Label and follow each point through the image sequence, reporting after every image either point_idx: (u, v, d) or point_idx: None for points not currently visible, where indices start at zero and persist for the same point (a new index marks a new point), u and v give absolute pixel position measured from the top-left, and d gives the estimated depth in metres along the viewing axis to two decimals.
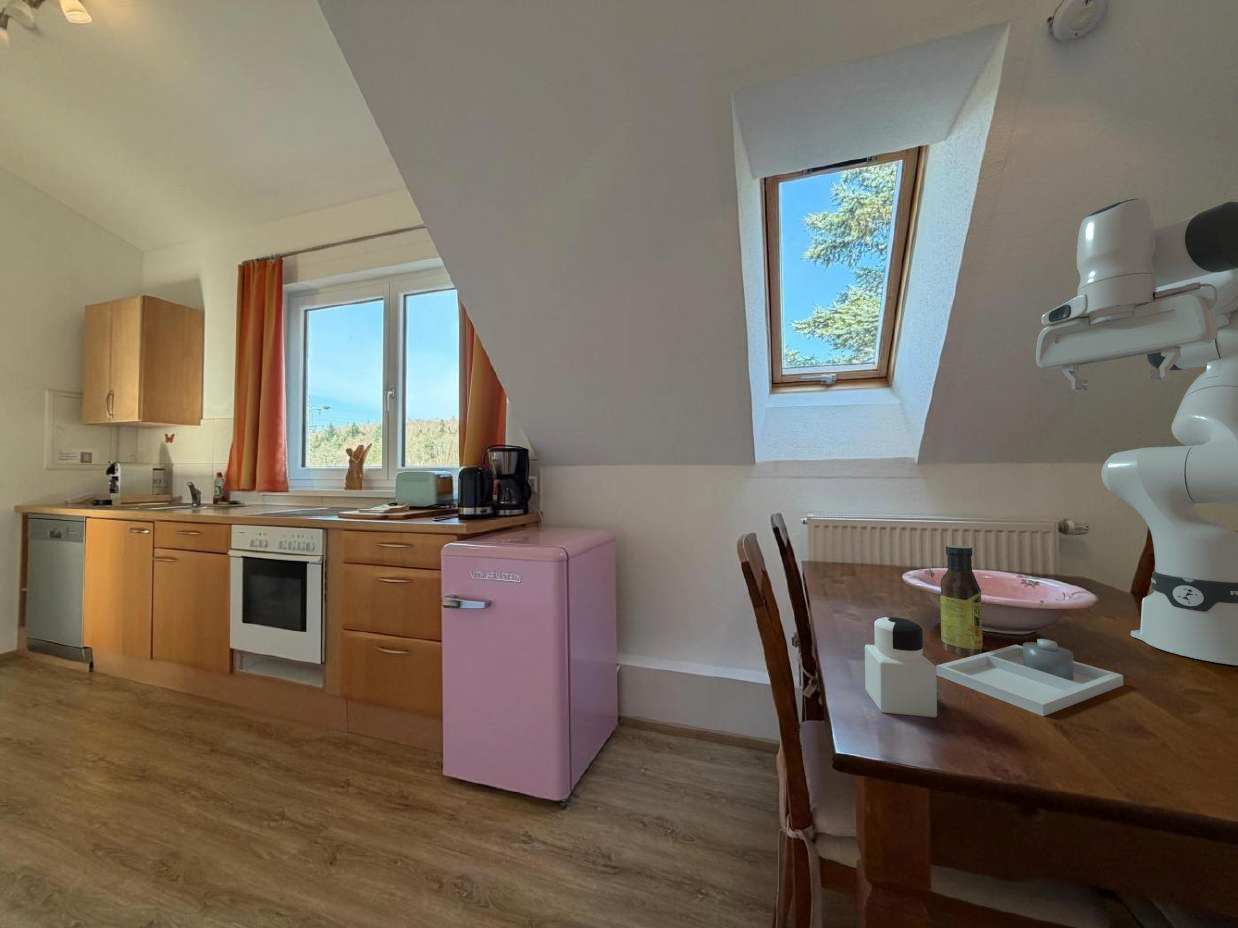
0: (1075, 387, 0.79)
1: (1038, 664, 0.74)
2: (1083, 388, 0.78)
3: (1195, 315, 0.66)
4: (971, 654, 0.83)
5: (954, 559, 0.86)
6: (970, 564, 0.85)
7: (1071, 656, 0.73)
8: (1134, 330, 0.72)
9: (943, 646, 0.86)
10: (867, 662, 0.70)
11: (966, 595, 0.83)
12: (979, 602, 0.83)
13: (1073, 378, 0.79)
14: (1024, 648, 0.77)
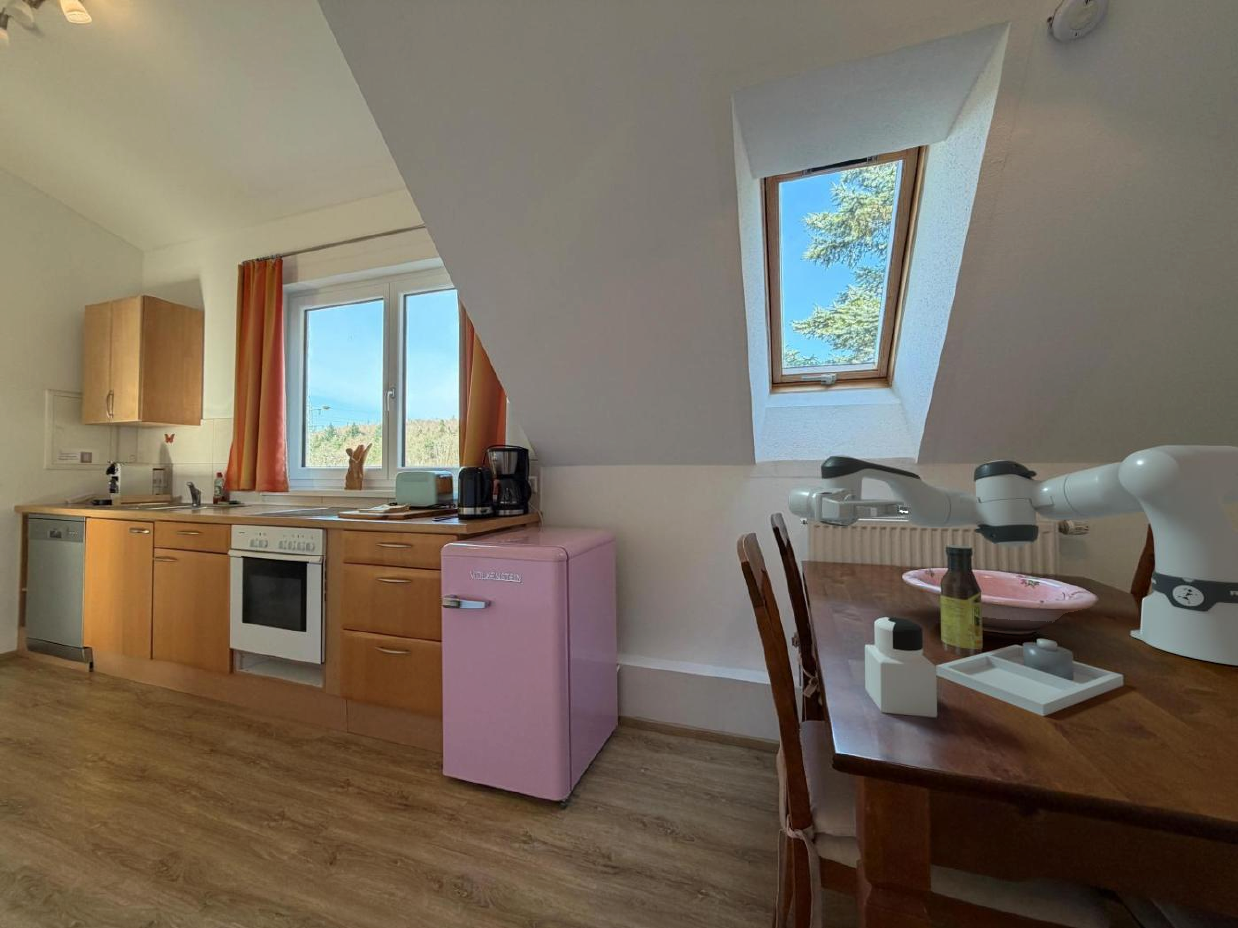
0: (876, 508, 0.98)
1: (1038, 664, 0.74)
2: (880, 509, 0.98)
3: None
4: (971, 654, 0.83)
5: (954, 559, 0.86)
6: (970, 564, 0.85)
7: (1071, 656, 0.73)
8: (870, 500, 1.08)
9: (943, 646, 0.86)
10: (867, 662, 0.70)
11: (966, 595, 0.83)
12: (979, 602, 0.83)
13: (868, 507, 0.99)
14: (1024, 648, 0.77)
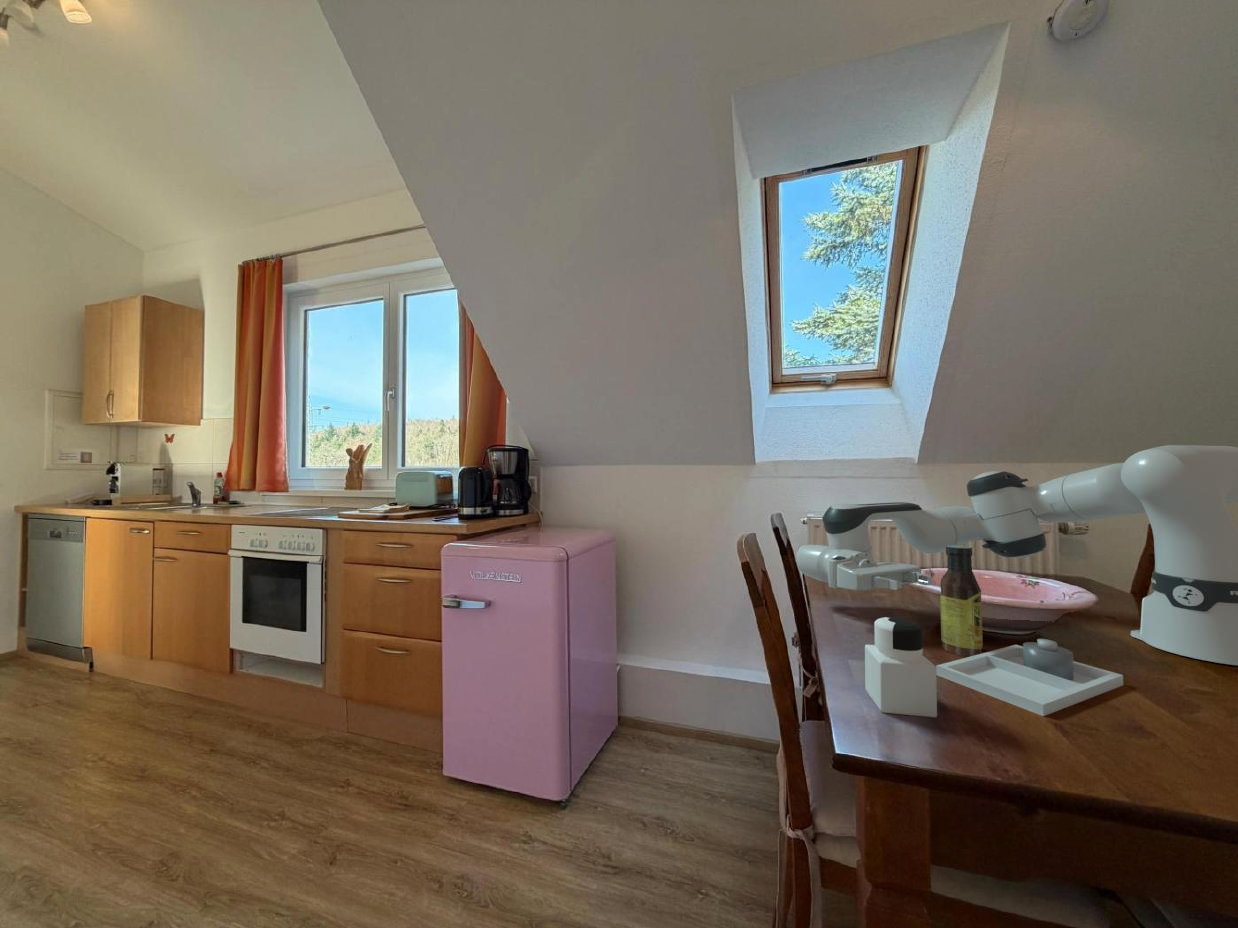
0: (896, 580, 0.92)
1: (1038, 664, 0.74)
2: (900, 582, 0.92)
3: (902, 563, 1.05)
4: (971, 654, 0.83)
5: (954, 559, 0.86)
6: (970, 564, 0.85)
7: (1071, 656, 0.73)
8: (885, 566, 1.02)
9: (943, 646, 0.86)
10: (867, 662, 0.70)
11: (966, 595, 0.83)
12: (979, 602, 0.83)
13: (887, 579, 0.93)
14: (1024, 648, 0.77)
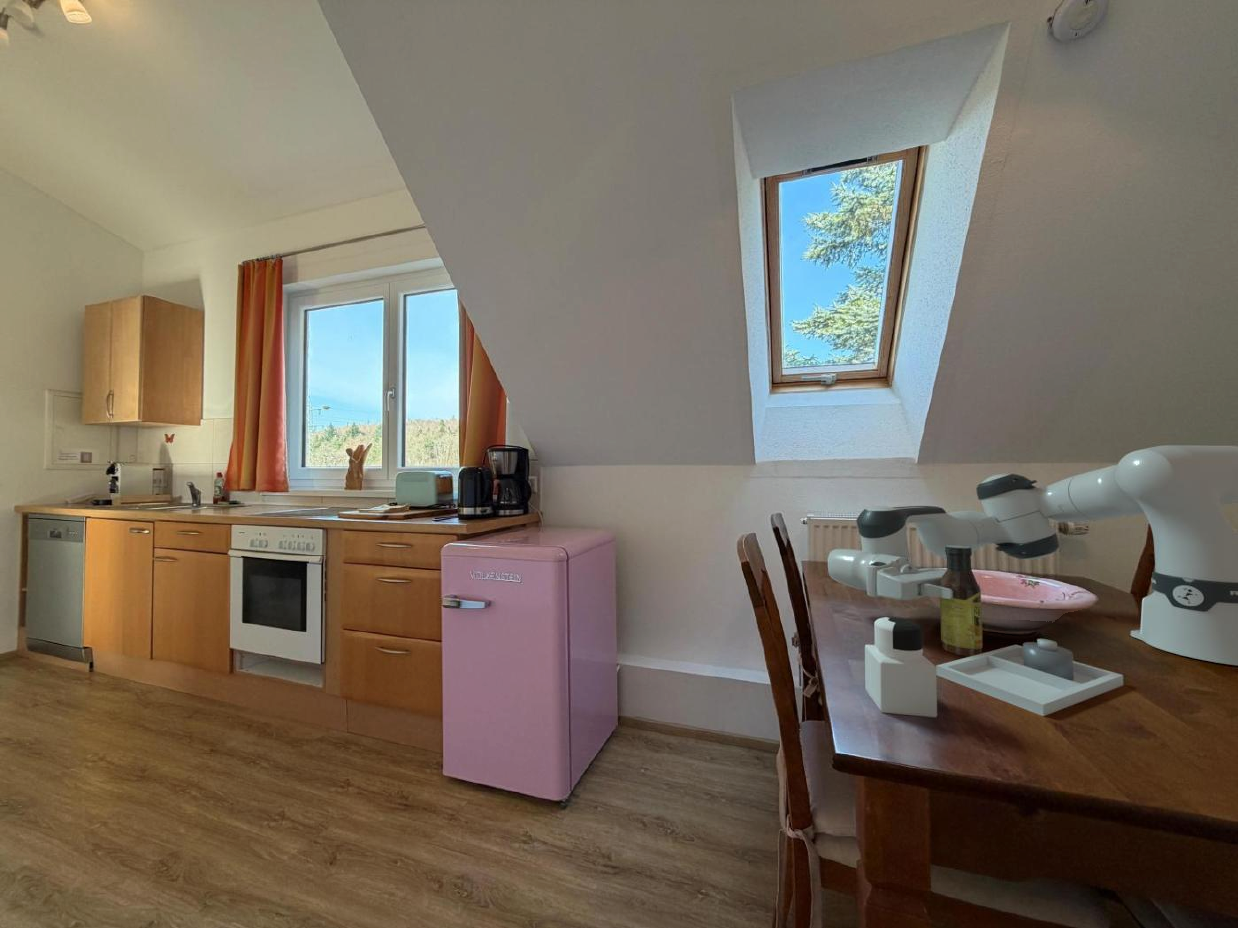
0: (949, 588, 0.84)
1: (1037, 664, 0.74)
2: (954, 590, 0.84)
3: (946, 569, 0.97)
4: (971, 654, 0.83)
5: (953, 559, 0.86)
6: (969, 564, 0.85)
7: (1071, 656, 0.73)
8: (929, 572, 0.94)
9: (943, 646, 0.86)
10: (867, 662, 0.70)
11: (966, 595, 0.83)
12: (978, 601, 0.83)
13: (939, 586, 0.86)
14: (1024, 648, 0.77)
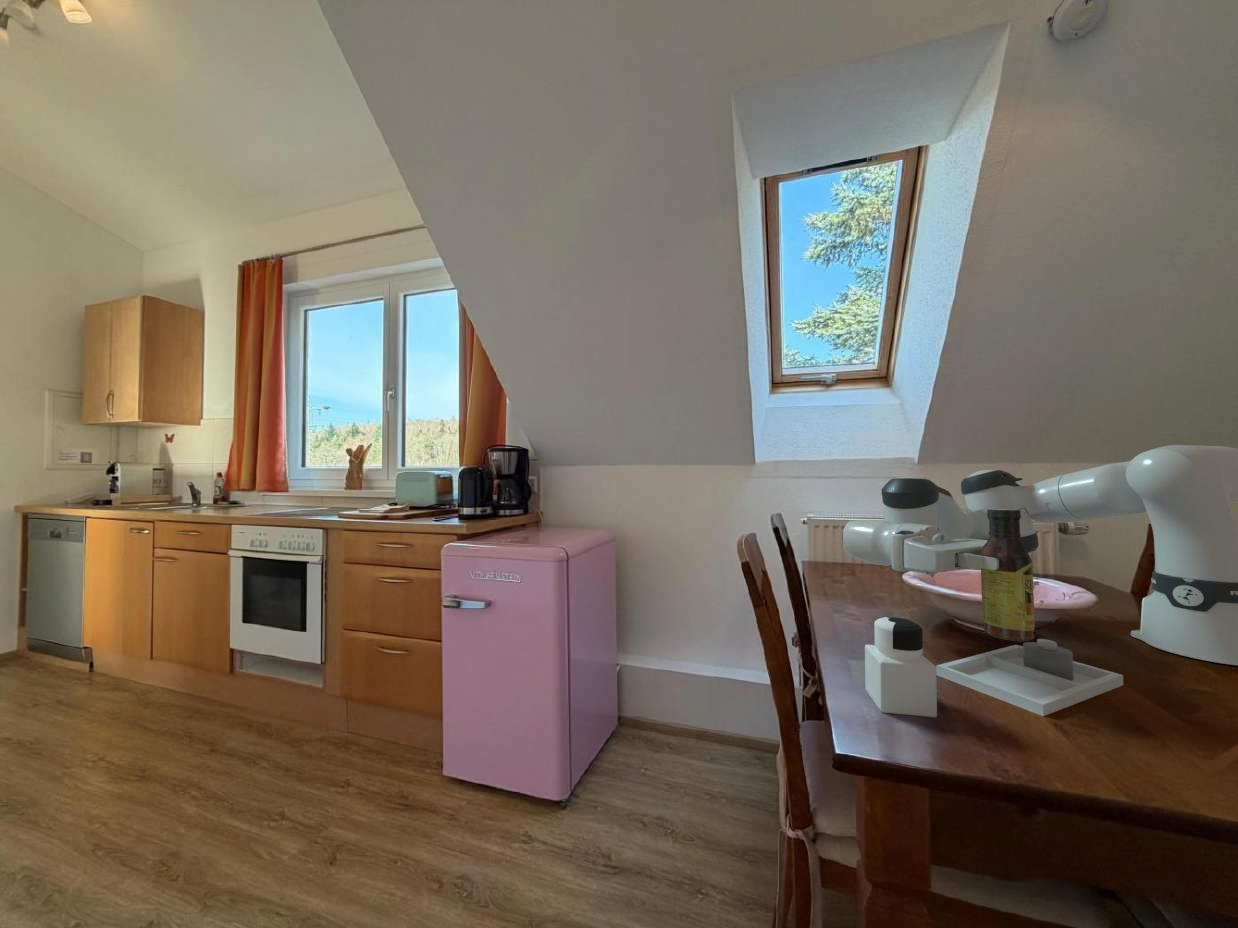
0: (995, 558, 0.70)
1: (1037, 664, 0.74)
2: (1000, 559, 0.70)
3: (984, 539, 0.82)
4: (1021, 637, 0.69)
5: (998, 524, 0.71)
6: (1018, 529, 0.70)
7: (1070, 656, 0.73)
8: (965, 542, 0.80)
9: (985, 628, 0.72)
10: (867, 662, 0.70)
11: (1015, 566, 0.69)
12: (1030, 574, 0.69)
13: (981, 556, 0.71)
14: (1024, 648, 0.77)
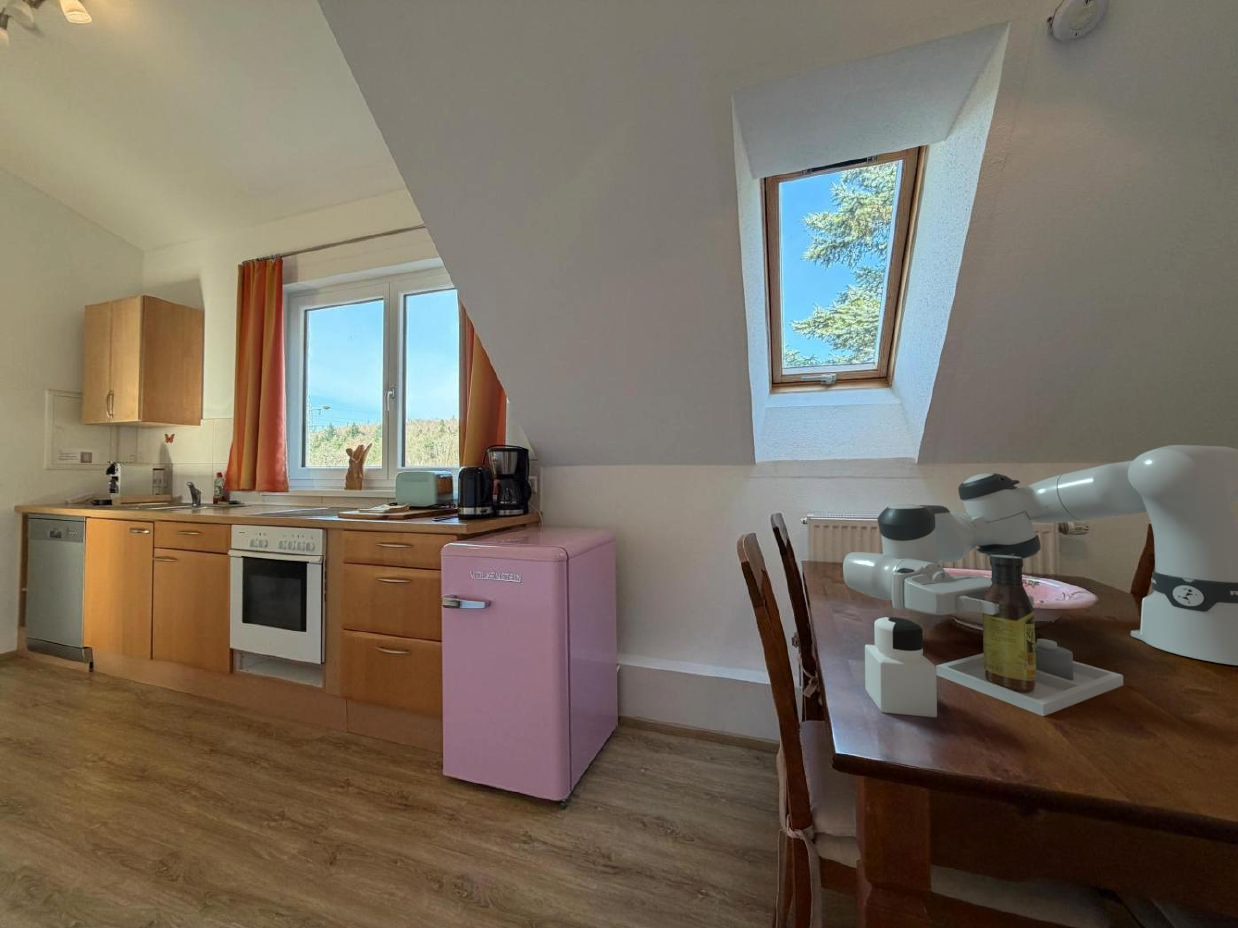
0: (992, 602, 0.69)
1: (1037, 663, 0.75)
2: None
3: (985, 577, 0.82)
4: (1023, 687, 0.68)
5: (1001, 571, 0.72)
6: (1020, 577, 0.71)
7: (1070, 656, 0.73)
8: (966, 581, 0.79)
9: (987, 675, 0.72)
10: (867, 662, 0.70)
11: (1017, 615, 0.69)
12: (1032, 623, 0.69)
13: (978, 599, 0.71)
14: None
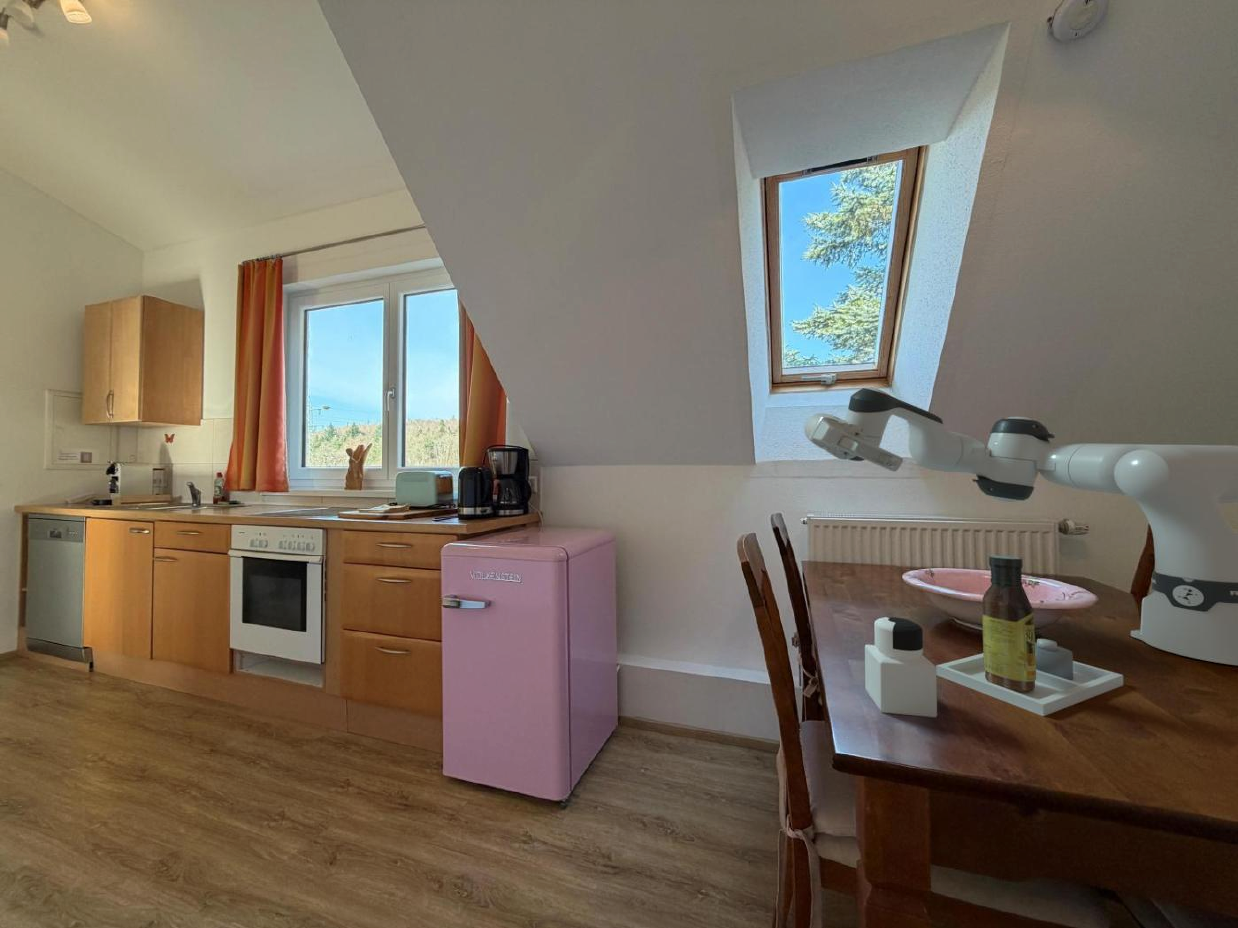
0: (858, 443, 0.97)
1: (1036, 663, 0.75)
2: (862, 447, 0.97)
3: (891, 453, 1.07)
4: (1023, 688, 0.68)
5: (1000, 572, 0.71)
6: (1020, 578, 0.71)
7: (1070, 656, 0.73)
8: None
9: (986, 676, 0.72)
10: (867, 662, 0.70)
11: (1016, 616, 0.69)
12: (1032, 624, 0.69)
13: (853, 441, 0.99)
14: None
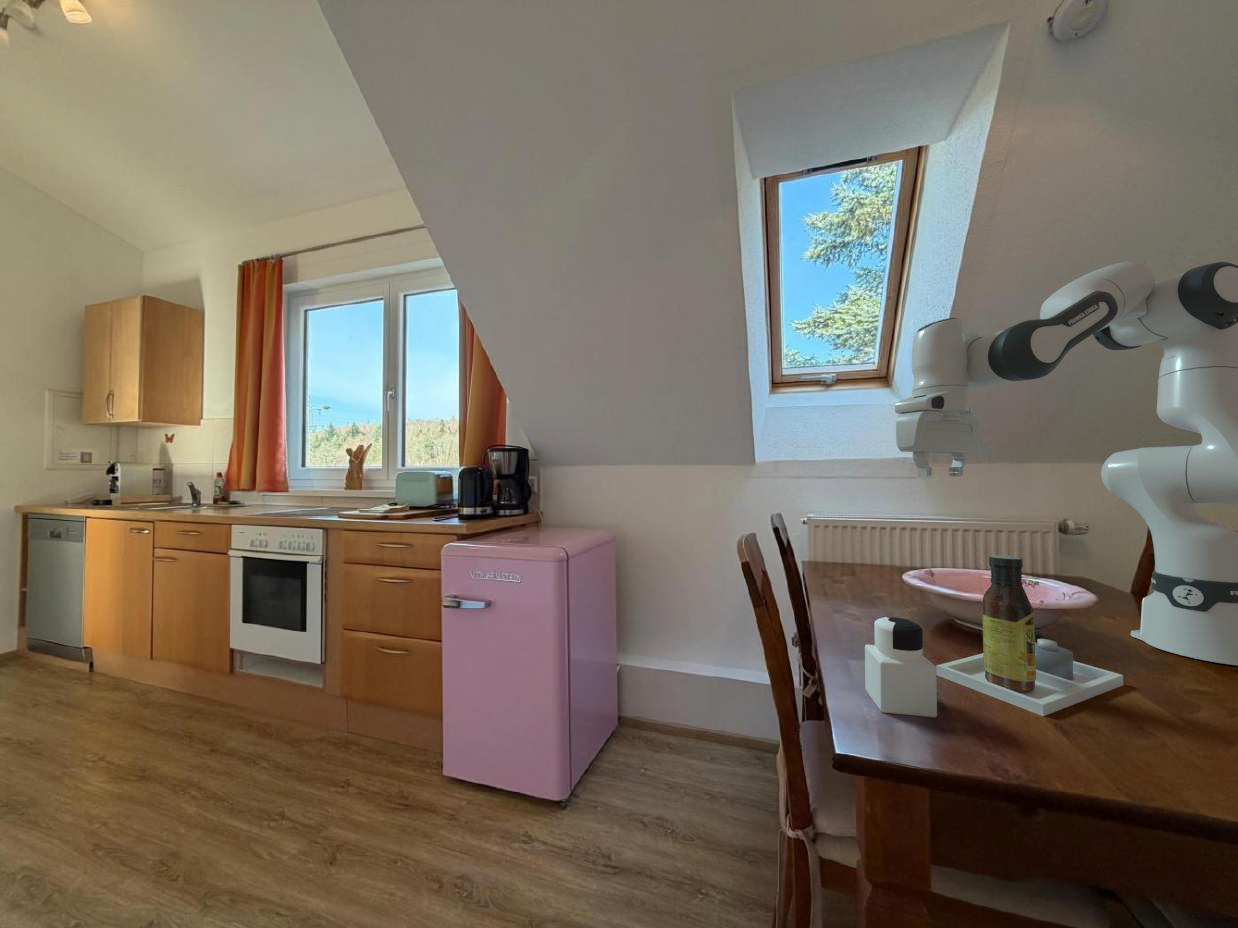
0: (928, 474, 0.85)
1: (1036, 663, 0.75)
2: None
3: (978, 432, 0.90)
4: (1023, 688, 0.68)
5: (1000, 573, 0.71)
6: (1020, 578, 0.71)
7: (1070, 656, 0.73)
8: (958, 433, 0.87)
9: (986, 676, 0.72)
10: (867, 662, 0.70)
11: (1016, 616, 0.69)
12: (1032, 624, 0.69)
13: (927, 464, 0.85)
14: None
